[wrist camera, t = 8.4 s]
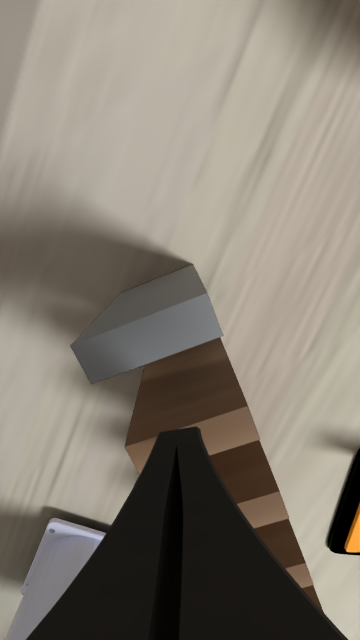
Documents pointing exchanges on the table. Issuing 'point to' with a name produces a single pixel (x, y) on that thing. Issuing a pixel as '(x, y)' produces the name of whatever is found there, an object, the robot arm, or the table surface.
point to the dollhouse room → (348, 516)
